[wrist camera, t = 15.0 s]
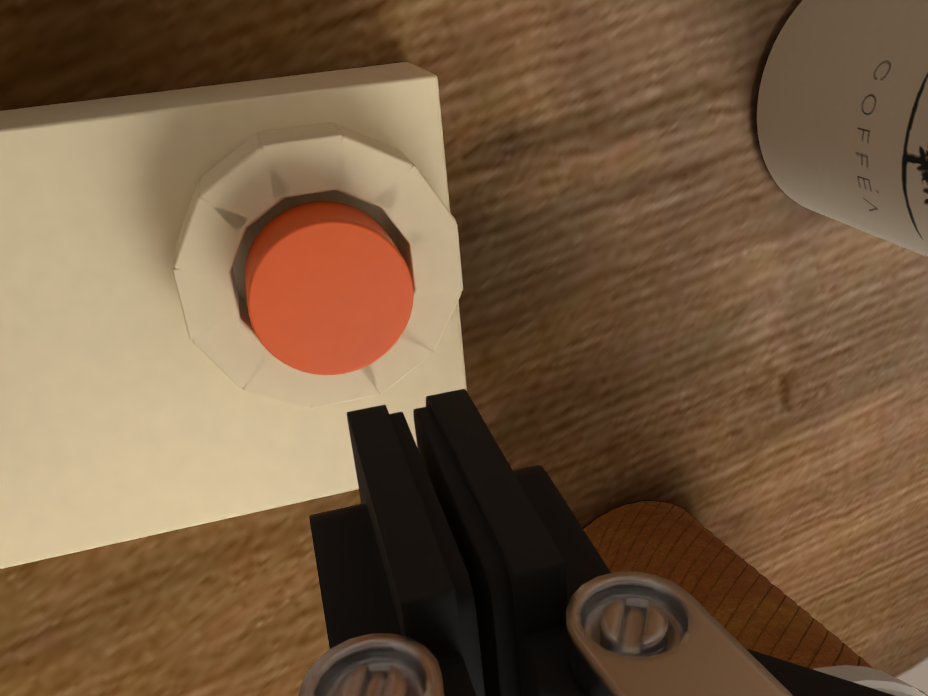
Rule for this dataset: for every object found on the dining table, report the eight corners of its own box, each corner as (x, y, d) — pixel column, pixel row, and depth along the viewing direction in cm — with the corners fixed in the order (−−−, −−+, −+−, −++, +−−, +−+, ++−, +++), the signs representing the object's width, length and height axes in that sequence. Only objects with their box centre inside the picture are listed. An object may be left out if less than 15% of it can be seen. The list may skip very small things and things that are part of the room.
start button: (230, 213, 19) (231, 235, 17) (389, 189, 19) (404, 208, 18) (260, 358, 20) (264, 390, 19) (406, 331, 21) (422, 359, 19)
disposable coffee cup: (784, 518, 34) (1044, 770, 23) (640, 690, 36) (820, 996, 25) (617, 421, 30) (842, 674, 19) (463, 622, 31) (590, 953, 21)
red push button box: (-119, 124, 20) (-211, 168, 16) (409, 61, 23) (456, 83, 18) (24, 500, 25) (-18, 614, 21) (446, 412, 28) (491, 496, 23)
